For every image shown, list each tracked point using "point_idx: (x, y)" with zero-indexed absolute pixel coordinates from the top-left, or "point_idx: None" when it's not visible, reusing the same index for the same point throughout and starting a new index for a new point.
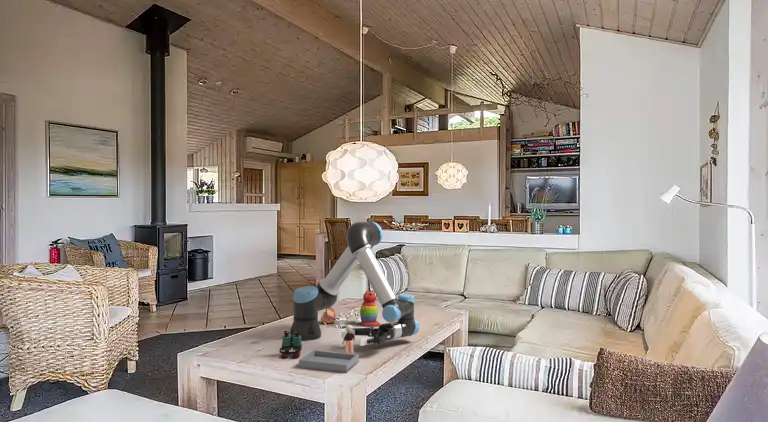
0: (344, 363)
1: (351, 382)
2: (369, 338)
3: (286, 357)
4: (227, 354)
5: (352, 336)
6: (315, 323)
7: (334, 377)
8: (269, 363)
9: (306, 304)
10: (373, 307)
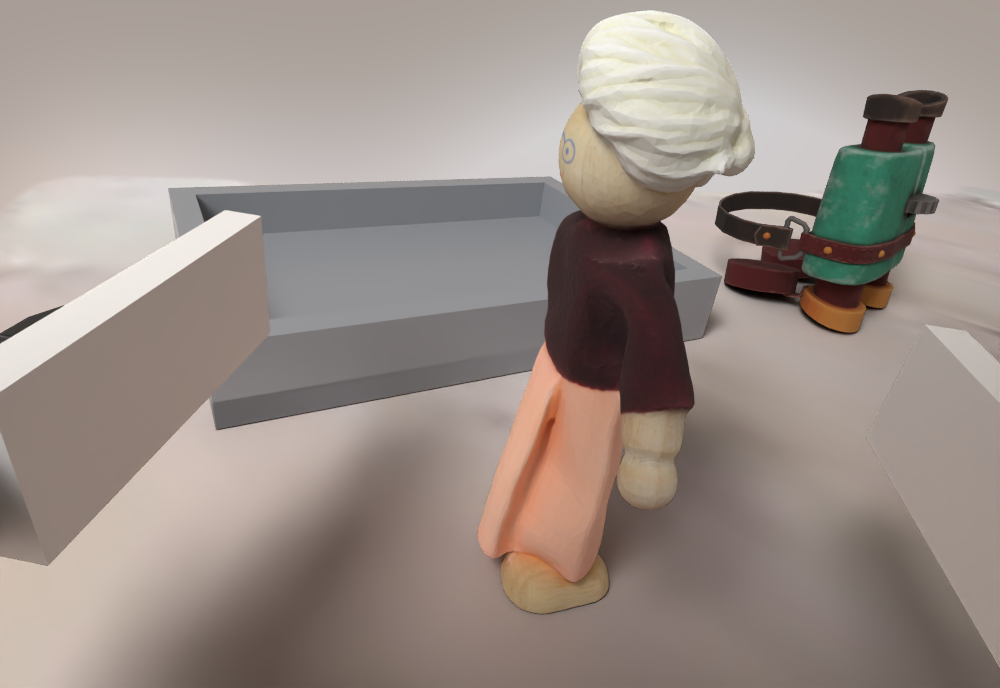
0: (291, 291)
1: (55, 195)
2: (59, 335)
3: (762, 259)
4: (962, 223)
5: (572, 306)
6: None
7: None
8: (712, 218)
9: None
10: None
